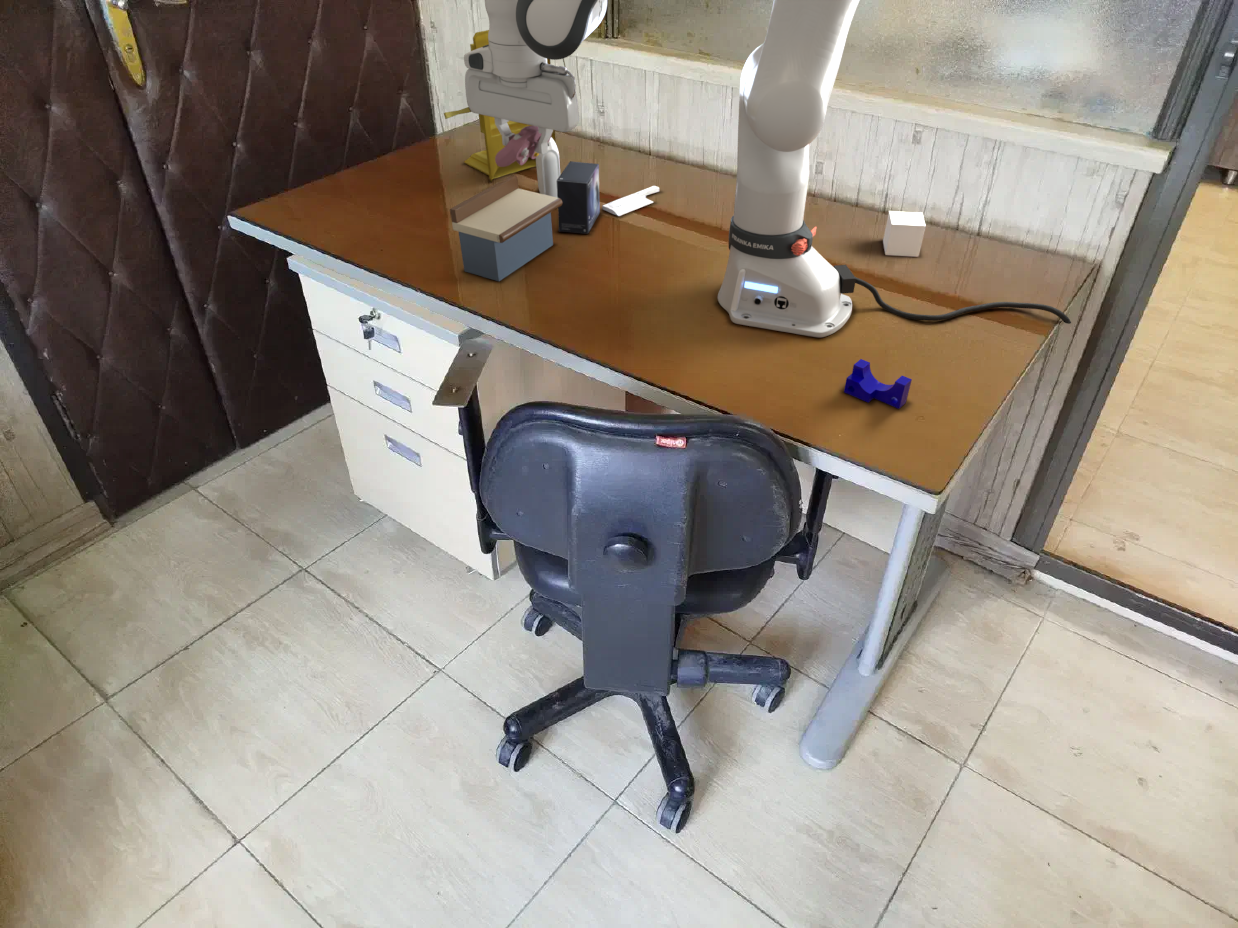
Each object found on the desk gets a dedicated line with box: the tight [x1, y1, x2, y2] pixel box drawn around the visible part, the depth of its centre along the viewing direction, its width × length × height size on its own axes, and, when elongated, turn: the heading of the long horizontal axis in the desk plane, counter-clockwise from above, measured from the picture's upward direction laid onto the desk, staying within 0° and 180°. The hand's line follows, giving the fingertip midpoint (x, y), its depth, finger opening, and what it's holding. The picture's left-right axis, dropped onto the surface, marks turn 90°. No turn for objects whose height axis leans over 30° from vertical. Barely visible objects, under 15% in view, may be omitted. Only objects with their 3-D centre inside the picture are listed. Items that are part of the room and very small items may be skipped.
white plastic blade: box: [601, 185, 660, 217], centre depth 173 cm, size 5×15×1 cm, turn 132°
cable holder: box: [843, 358, 913, 410], centre depth 118 cm, size 8×4×4 cm, turn 48°
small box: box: [557, 160, 601, 235], centre depth 163 cm, size 11×6×10 cm, turn 168°
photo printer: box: [535, 137, 561, 197], centre depth 173 cm, size 10×4×12 cm, turn 13°
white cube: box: [882, 210, 927, 258], centre depth 154 cm, size 6×6×6 cm
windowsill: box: [449, 174, 563, 282], centre depth 151 cm, size 11×18×12 cm, turn 149°
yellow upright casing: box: [443, 29, 568, 183], centre depth 183 cm, size 31×14×30 cm, turn 130°
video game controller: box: [495, 126, 552, 167], centre depth 137 cm, size 10×5×7 cm, turn 148°
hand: (525, 149), depth 137 cm, fingers closed on video game controller, 5 cm apart
